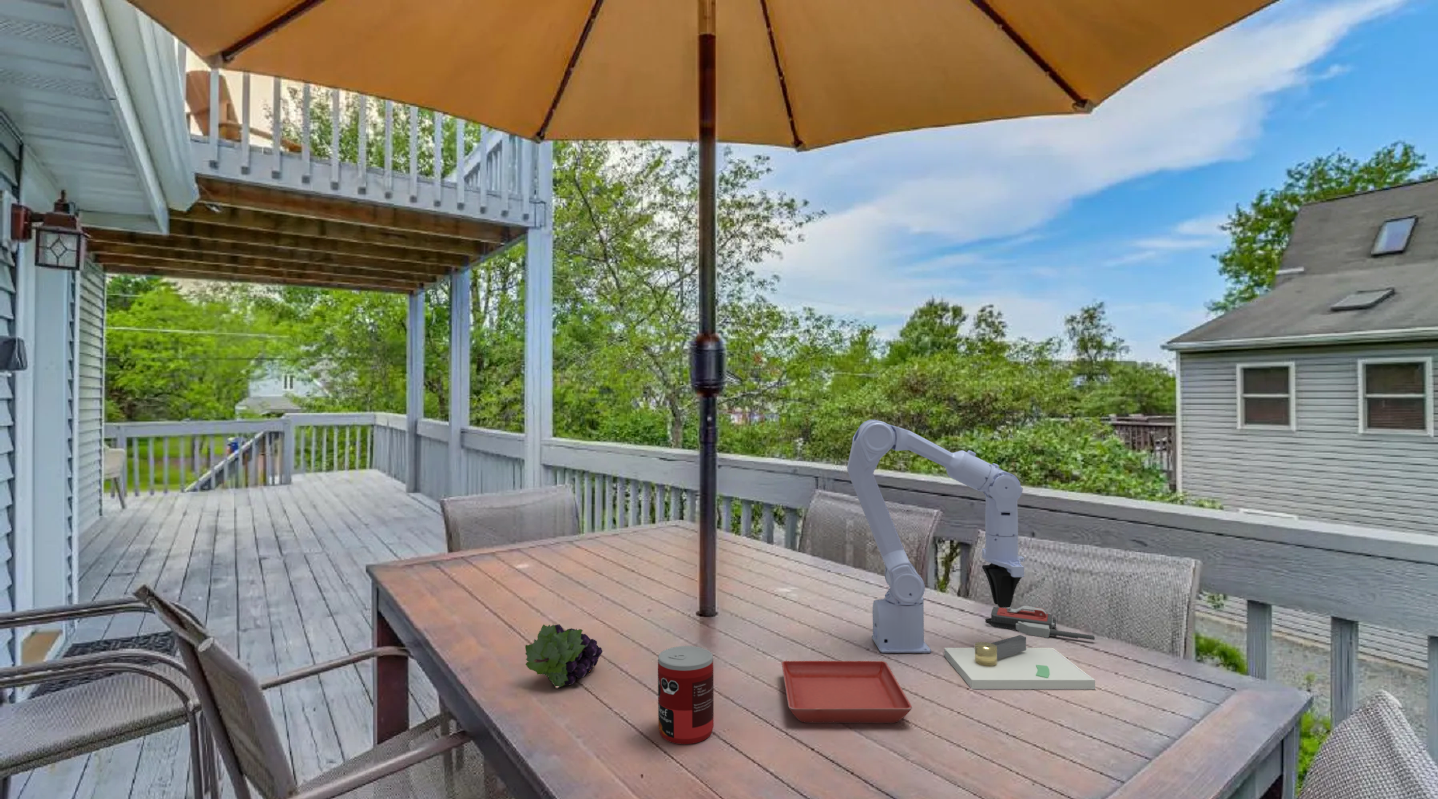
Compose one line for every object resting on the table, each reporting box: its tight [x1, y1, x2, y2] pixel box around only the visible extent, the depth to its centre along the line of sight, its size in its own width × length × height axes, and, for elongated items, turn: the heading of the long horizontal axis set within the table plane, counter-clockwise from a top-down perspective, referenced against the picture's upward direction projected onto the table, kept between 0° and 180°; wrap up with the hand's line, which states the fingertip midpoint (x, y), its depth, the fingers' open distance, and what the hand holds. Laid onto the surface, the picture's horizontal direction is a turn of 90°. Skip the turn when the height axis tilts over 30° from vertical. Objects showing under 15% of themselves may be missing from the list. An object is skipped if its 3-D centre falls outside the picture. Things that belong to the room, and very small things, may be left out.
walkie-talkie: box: [985, 605, 1096, 641], centre depth 134 cm, size 9×4×20 cm
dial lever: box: [974, 634, 1027, 665], centre depth 116 cm, size 12×4×3 cm, turn 119°
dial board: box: [943, 647, 1096, 690], centre depth 114 cm, size 20×14×2 cm
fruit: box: [524, 623, 604, 688], centre depth 112 cm, size 10×10×15 cm
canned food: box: [657, 645, 715, 745], centre depth 94 cm, size 8×8×11 cm
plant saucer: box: [781, 660, 913, 724], centre depth 103 cm, size 18×18×3 cm
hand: (1002, 605), depth 124 cm, fingers closed
